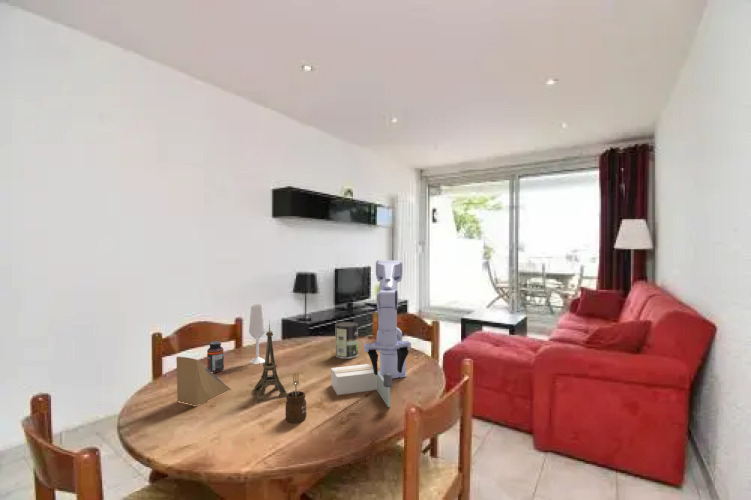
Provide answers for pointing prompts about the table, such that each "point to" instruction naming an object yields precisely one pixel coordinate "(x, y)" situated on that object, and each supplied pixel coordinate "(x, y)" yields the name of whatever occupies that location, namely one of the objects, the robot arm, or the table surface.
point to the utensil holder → (295, 404)
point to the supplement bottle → (215, 357)
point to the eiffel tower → (266, 378)
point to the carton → (353, 379)
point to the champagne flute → (257, 328)
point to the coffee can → (346, 340)
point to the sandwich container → (196, 382)
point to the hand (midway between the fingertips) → (387, 372)
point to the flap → (384, 386)
